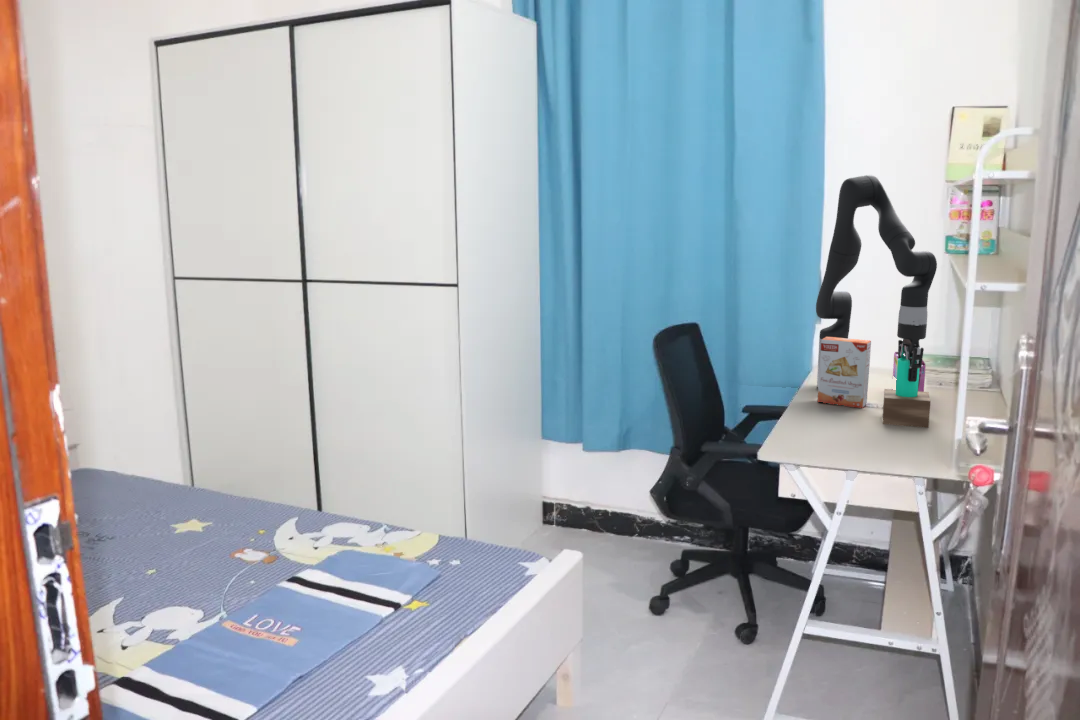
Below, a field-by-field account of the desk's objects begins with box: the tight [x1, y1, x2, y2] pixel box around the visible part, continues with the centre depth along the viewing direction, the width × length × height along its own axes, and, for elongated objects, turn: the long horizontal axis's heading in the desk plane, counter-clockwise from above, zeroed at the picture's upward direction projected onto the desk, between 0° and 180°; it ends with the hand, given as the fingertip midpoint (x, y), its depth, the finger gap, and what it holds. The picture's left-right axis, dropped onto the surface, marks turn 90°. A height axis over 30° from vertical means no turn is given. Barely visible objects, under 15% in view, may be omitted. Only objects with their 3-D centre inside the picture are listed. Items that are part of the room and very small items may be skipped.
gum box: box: [892, 351, 926, 392], centre depth 266 cm, size 24×8×14 cm, turn 161°
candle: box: [896, 358, 920, 397], centre depth 240 cm, size 6×6×12 cm
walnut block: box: [882, 388, 931, 429], centre depth 241 cm, size 12×12×8 cm
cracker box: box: [817, 337, 872, 409], centre depth 260 cm, size 14×6×21 cm, turn 56°
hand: (908, 378), depth 240 cm, fingers open, 6 cm apart
